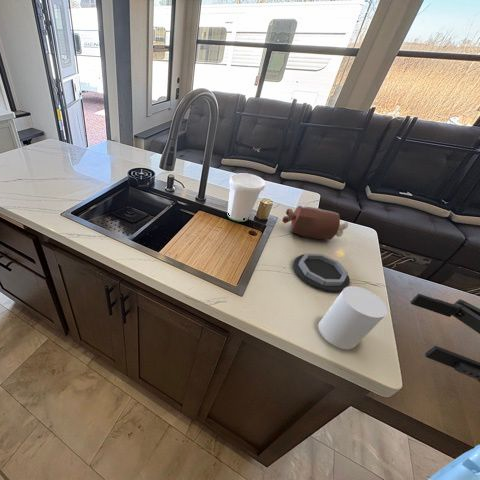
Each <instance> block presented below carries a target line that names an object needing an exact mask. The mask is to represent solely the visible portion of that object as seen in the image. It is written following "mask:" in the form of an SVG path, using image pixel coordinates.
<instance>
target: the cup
mask: <svg viewBox="0 0 480 480" xmlns="http://www.w3.org/2000/svg"><path fill="white" fill-rule="evenodd" d="M229 177H230V178H229V181H228V184H229V194H228V203H227V212H228V213H229V215H230V216H229V215H228V213H226V215H227V217H228V219H229V220H232V221H233V222H237V223H240V222H241V223H244V222H247V221H248V220H249V219H245V220H243V218H248V217H249V218H250V216H251V214H252V211H253V210H254V207H255V204H256V202H257V200H258V199H259V196H260V193H261V192H262V191H263V190H264V189H265V187H266V184H267V183H266V181H265V180H264V178H262V177H260V176H258V175H255V174H251V173H246V172H244V173H243V172H239V173H234V174H232V175H230V176H229Z"/></svg>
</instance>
